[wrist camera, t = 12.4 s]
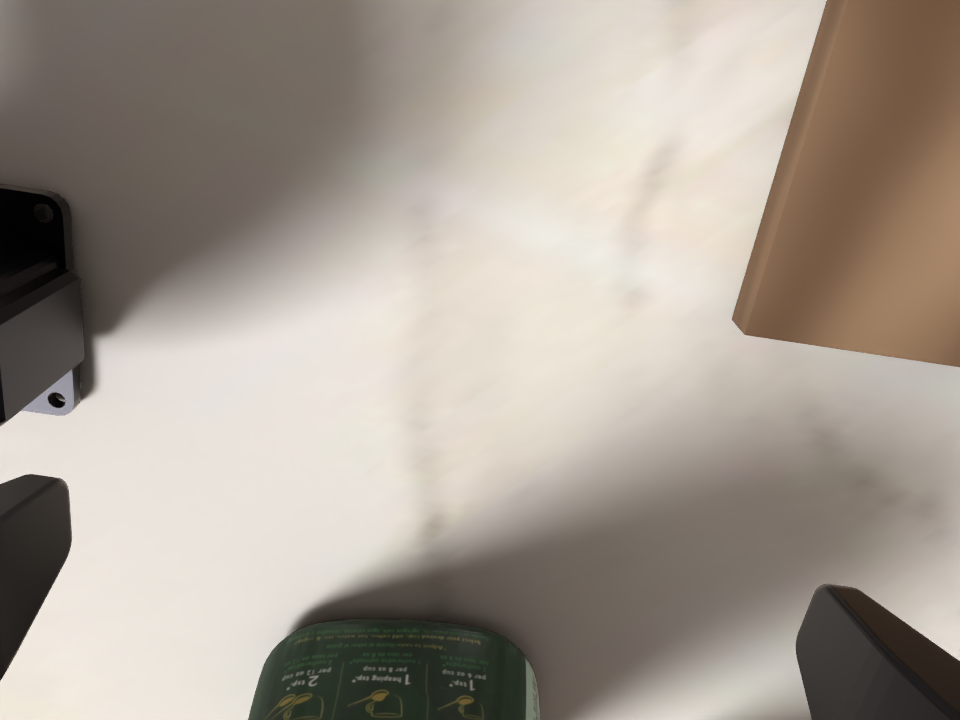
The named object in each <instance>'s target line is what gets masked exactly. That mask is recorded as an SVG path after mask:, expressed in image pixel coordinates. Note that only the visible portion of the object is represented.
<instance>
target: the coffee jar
mask: <svg viewBox="0 0 960 720" xmlns="http://www.w3.org/2000/svg"><path fill="white" fill-rule="evenodd" d="M248 720H540V709H539V696H538V688H537V681H536V677H535V674H534V671H533V669H532V666H531V664H530V663H529V661H528V660H527V658H526V657H525V655H524V654H523V653H522V652H521V651H520V649H519V648H517V647H516V646H515V645H514V644H512V643H511V642H510V641H509V640H507V639H506V638H504V637H503V636H501V635H499V634H496V633H494V632H491V631H488V630H485V629H481V628H477V627H472V626H465V625H458V624H450V623H446V622H443V623H440V622H432V621H422V620H396V619H359V620H343V621H330V622H323V623H317V624H313V625H310V626H307V627H304V628H302V629H300V630H297V631H295V632H293V633H292V634H290V635H289V636H287V637H286V638H285V639H284V640H282V641H281V642H280V643H279V644H278V645H277V646H276V647H275V648H274V649H273V650H272V652H271V653H270V655H269V656H268V658H267V660H266V662H265V664H264V666H263V669H262V672H261V675H260V678H259V681H258V685H257V688H256V691H255V695H254V699H253V703H252V706H251V711H250V715H249V719H248Z"/></svg>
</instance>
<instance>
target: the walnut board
mask: <svg viewBox="0 0 960 720" xmlns="http://www.w3.org/2000/svg"><path fill="white" fill-rule="evenodd" d="M732 320H733V322H734V323H735V324H736V325H737V326H738V327H739V329H740V330H741V331H742V332H743V333H744V335H749V336H756V337H763V338H769V339H776V340H783V341H789V342H796V343H803V344H809V345H816V346H823V347H829V348H836V349H843V350H849V351H856V352H863V353H869V354H876V355H883V356H889V357H896V358H903V359H909V360H916V361H923V362H929V363H936V364H943V365H949V366H956V367H960V0H827V2H826V6H825V9H824V12H823V16H822V19H821V22H820V26H819V29H818V32H817V36H816V39H815V42H814V46H813V49H812V52H811V56H810V59H809V63H808V66H807V69H806V73H805V76H804V79H803V83H802V86H801V89H800V93H799V96H798V99H797V103H796V106H795V109H794V113H793V116H792V119H791V123H790V126H789V129H788V133H787V136H786V140H785V143H784V146H783V150H782V153H781V156H780V160H779V163H778V166H777V170H776V173H775V176H774V180H773V183H772V186H771V190H770V193H769V196H768V200H767V203H766V206H765V210H764V213H763V217H762V220H761V223H760V227H759V230H758V233H757V237H756V240H755V243H754V247H753V250H752V253H751V257H750V260H749V263H748V267H747V270H746V273H745V277H744V280H743V283H742V287H741V290H740V294H739V297H738V300H737V304H736V307H735V310H734V314H733V317H732Z"/></svg>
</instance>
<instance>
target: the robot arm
mask: <svg viewBox="0 0 960 720" xmlns="http://www.w3.org/2000/svg"><path fill="white" fill-rule="evenodd" d="M43 204H45V205H48V206H49V207H50V208H51V209H52V211H53V214H54V215H53V220H52V219H49V218H47V217H46V216H45V215H44V214H43V211H42V205H43ZM83 360H84V337H83V318H82V299H81V281H80V278H79V277H78V275H77V274H76V273H75V271H74V265H73V247H72V229H71V213H70V209H69V205H68V204H67V202H66V201H65V199H64V198H62V197H61V196H60V195H58V194H56V193H53V192H51V191H44V190H38V189H31V188H24V187H18V186H11V185H5V184H0V427H1V426H2V425H3V424H4V423H6V422H7V421H8V420H9V419H11V418H12V417H13V416H14V415H16V414H17V413H18V412H19V411H21V410H22V411H29V412H36V413H44V414H51V415H66V414H68V413H70V412H71V411H72V410H73V409H74V408H75V407H77V405H78V404H79V403H80V399H81V390H80V372H79V363H80V362H82V361H83ZM55 392H57V393H60V394H61V395H62V396H63V397H64V398H65V401H66V402H63V401H60V400H59V399H58V398H57V397H56V395H55ZM71 542H72V530H71V515H70V499H69V490H68V486H67V484H66V482H65V481H63V480H62V479H60V478H55V477H48V476H41V475H33V474H29V475H24V476H21V477H18V478H16V479H13V480H10V481H8V482H5V483H2V484H0V680H1V679H2V677H3V676H4V674H5V672H6V671H7V669H8V667H9V665H10V664H11V662H12V660H13V658H14V657H15V655H16V653H17V651H18V649H19V647H20V646H21V644H22V642H23V640H24V638H25V636H26V634H27V632H28V630H29V629H30V627H31V625H32V623H33V621H34V619H35V617H36V615H37V614H38V612H39V610H40V608H41V606H42V604H43V602H44V600H45V599H46V597H47V595H48V593H49V591H50V589H51V587H52V585H53V583H54V582H55V580H56V578H57V576H58V574H59V572H60V570H61V568H62V567H63V565H64V563H65V561H66V559H67V557H68V554H69V551H70V547H71ZM796 655H797V660H798V664H799V668H800V672H801V676H802V680H803V684H804V689H805V693H806V697H807V701H808V705H809V709H810V713H811V717H812V720H960V661H959V660H957V659H956V658H954V657H953V656H951V655H950V654H949V653H947V652H946V651H944V650H943V649H942V648H940V647H939V646H937V645H936V644H935V643H933V642H932V641H930V640H929V639H928V638H926V637H925V636H923V635H922V634H920V633H919V632H918V631H916V630H915V629H913V628H912V627H911V626H909V625H908V624H906V623H905V622H904V621H902V620H901V619H899V618H898V617H896V616H895V615H894V614H892V613H891V612H889V611H888V610H887V609H885V608H884V607H882V606H881V605H880V604H878V603H877V602H875V601H874V600H872V599H871V598H870V597H868V596H867V595H865V594H864V593H863V592H861V591H860V590H858V589H856V588H853V587H846V586H839V585H831V584H824V585H821V586H819V587H818V589H817V590H816V591H815V593H814V595H813V598H812V600H811V602H810V605H809V607H808V610H807V612H806V615H805V617H804V620H803V622H802V625H801V627H800V630H799V632H798V635H797V640H796Z"/></svg>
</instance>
